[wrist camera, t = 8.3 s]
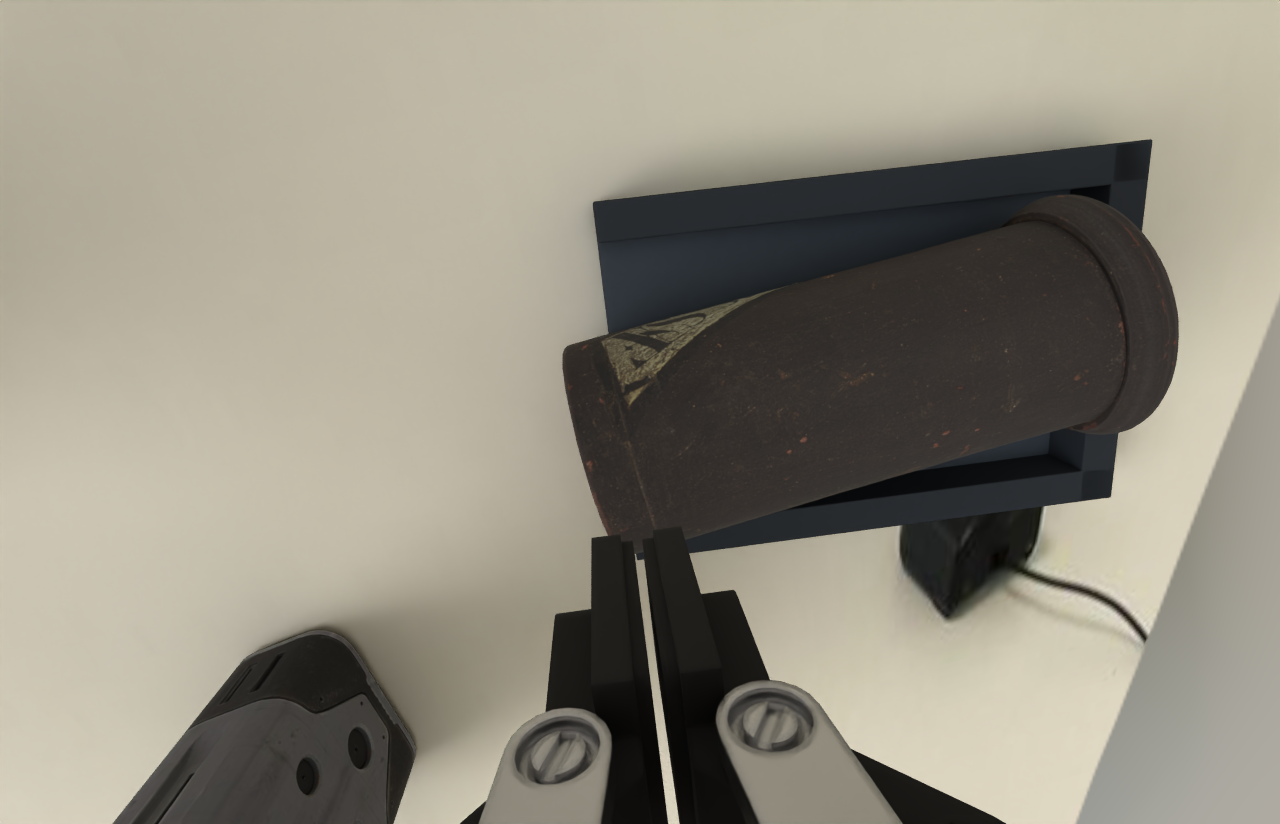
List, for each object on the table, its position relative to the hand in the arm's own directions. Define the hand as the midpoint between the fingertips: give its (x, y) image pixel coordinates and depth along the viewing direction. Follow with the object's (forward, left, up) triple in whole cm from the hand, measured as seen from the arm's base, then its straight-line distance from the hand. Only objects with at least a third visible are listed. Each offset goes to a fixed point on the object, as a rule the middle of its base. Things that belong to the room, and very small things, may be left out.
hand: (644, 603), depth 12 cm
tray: (+10, 0, -17) cm, 20 cm away
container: (-1, -2, -13) cm, 13 cm away
